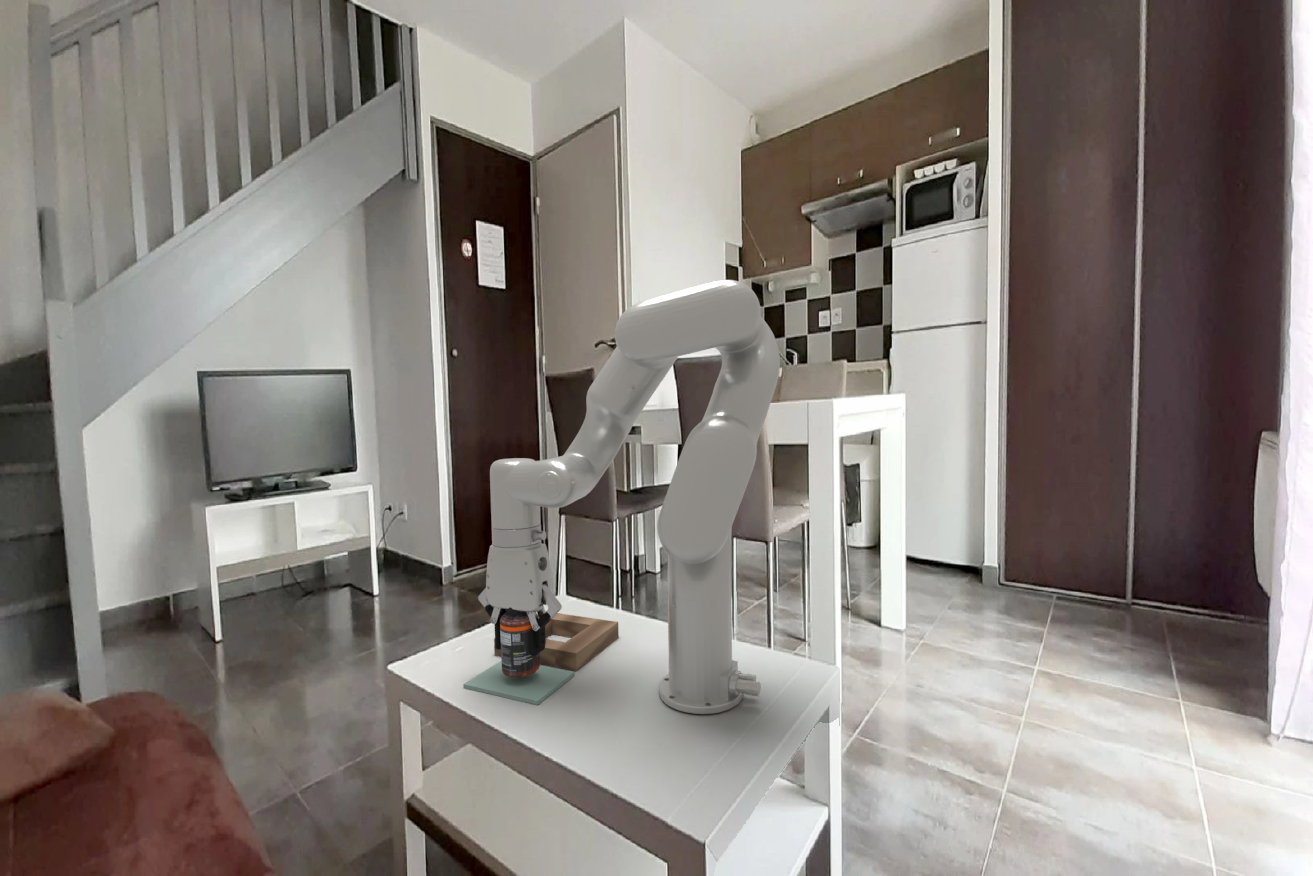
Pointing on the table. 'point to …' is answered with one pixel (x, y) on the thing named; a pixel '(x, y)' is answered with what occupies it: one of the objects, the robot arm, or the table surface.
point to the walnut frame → (575, 640)
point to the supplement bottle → (517, 645)
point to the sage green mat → (520, 683)
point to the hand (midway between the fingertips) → (520, 648)
